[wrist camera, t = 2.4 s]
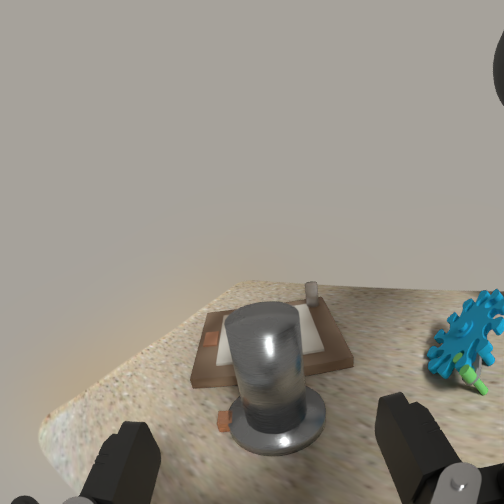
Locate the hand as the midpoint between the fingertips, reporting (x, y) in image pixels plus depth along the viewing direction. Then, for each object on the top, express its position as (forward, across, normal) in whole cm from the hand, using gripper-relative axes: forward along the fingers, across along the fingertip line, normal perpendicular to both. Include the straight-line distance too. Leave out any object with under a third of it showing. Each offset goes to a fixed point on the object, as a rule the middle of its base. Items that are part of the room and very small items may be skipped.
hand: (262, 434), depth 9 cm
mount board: (+25, 0, +11) cm, 27 cm away
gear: (+12, -18, +11) cm, 25 cm away
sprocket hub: (+12, 0, +11) cm, 16 cm away
